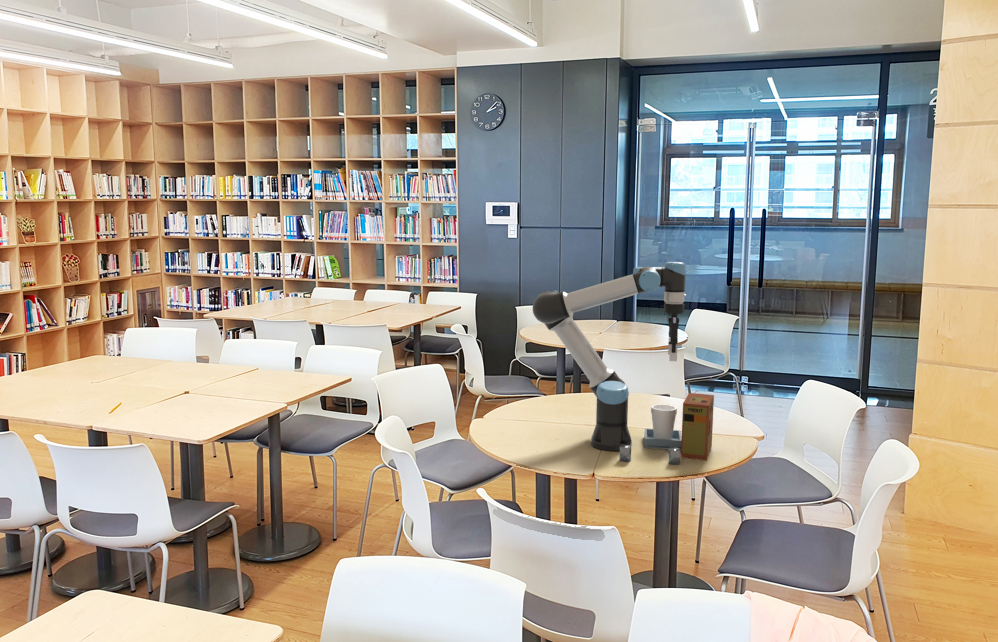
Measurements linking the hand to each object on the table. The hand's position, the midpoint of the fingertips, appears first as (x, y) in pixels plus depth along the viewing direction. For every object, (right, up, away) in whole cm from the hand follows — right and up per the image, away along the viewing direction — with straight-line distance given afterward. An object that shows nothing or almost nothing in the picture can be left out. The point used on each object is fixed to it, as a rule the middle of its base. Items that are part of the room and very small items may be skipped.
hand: (672, 357), depth 288 cm
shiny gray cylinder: (-5, -36, -25) cm, 44 cm away
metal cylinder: (-22, -35, -22) cm, 47 cm away
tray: (-4, -32, -3) cm, 33 cm away
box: (+6, -34, -13) cm, 37 cm away
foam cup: (-4, -32, -3) cm, 32 cm away
